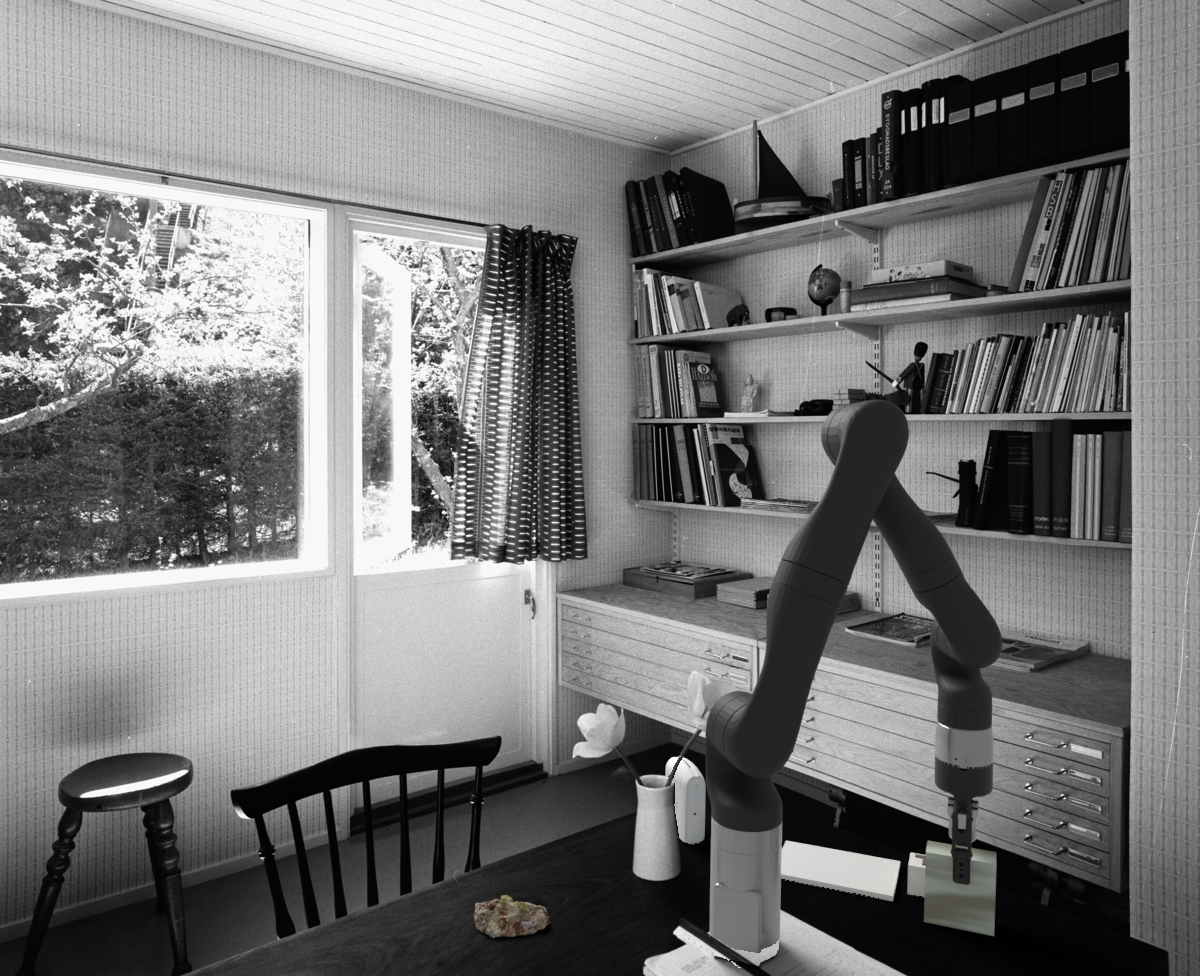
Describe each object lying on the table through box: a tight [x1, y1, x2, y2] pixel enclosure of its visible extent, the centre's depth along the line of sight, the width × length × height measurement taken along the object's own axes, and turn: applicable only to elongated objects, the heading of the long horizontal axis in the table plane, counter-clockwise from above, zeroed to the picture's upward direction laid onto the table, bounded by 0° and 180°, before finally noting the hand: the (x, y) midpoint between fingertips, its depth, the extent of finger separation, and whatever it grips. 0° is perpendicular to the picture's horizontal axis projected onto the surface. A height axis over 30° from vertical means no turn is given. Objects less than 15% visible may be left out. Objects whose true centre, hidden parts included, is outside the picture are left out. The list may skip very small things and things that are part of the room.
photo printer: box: [665, 756, 707, 845], centre depth 154 cm, size 10×4×12 cm, turn 17°
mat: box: [781, 840, 901, 902], centre depth 141 cm, size 12×18×1 cm, turn 67°
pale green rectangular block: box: [923, 840, 997, 937], centre depth 126 cm, size 4×9×10 cm, turn 67°
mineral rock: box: [473, 894, 551, 939], centre depth 125 cm, size 11×4×8 cm
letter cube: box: [906, 852, 926, 898], centre depth 135 cm, size 4×4×5 cm
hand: (961, 868), depth 126 cm, fingers open, 8 cm apart
